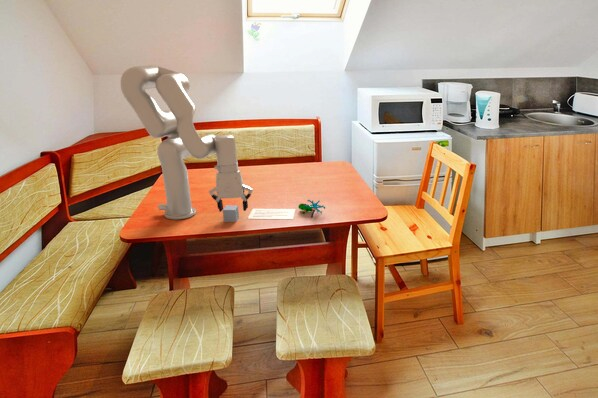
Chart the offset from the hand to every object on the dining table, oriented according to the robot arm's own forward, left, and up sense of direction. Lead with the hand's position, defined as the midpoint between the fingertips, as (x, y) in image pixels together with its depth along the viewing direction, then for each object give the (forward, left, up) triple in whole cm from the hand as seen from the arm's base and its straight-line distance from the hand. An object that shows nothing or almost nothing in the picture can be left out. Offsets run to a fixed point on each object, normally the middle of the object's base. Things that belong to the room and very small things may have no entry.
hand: (233, 210), depth 166 cm
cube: (-1, 0, -4) cm, 4 cm away
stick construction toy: (+30, +7, -4) cm, 31 cm away
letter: (+14, +6, -4) cm, 16 cm away
